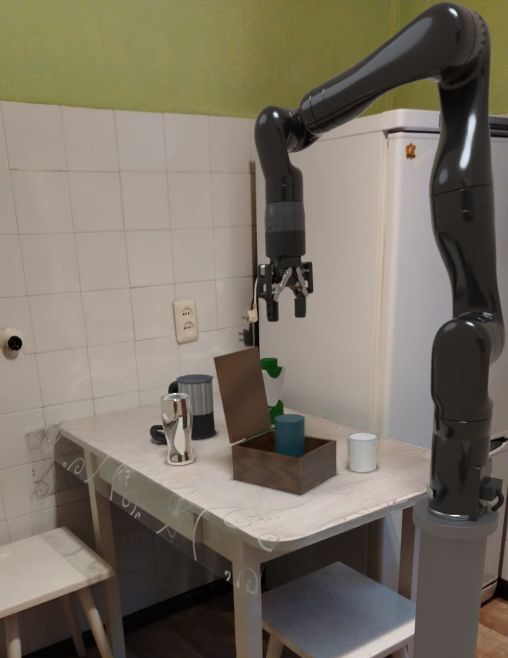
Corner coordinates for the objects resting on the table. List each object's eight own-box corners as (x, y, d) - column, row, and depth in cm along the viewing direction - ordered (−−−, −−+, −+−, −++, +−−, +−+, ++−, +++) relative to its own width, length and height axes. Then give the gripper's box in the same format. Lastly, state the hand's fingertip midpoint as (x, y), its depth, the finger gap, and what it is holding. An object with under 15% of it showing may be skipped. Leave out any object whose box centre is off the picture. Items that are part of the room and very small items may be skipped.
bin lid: (257, 346, 136) (254, 346, 136) (216, 357, 126) (213, 357, 126) (271, 427, 140) (269, 427, 141) (232, 443, 130) (229, 443, 131)
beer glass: (188, 467, 142) (183, 400, 136) (160, 464, 144) (153, 399, 139) (200, 456, 148) (195, 393, 142) (172, 455, 150) (167, 392, 145)
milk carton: (264, 447, 152) (261, 363, 145) (239, 439, 159) (236, 358, 152) (290, 439, 157) (289, 357, 150) (266, 432, 164) (263, 353, 157)
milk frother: (222, 431, 167) (219, 374, 162) (194, 449, 153) (189, 388, 148) (175, 427, 173) (170, 372, 167) (143, 444, 159) (137, 385, 154)
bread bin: (336, 474, 133) (336, 440, 130) (300, 495, 123) (299, 459, 121) (271, 460, 143) (270, 429, 140) (233, 479, 133) (231, 445, 131)
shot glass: (339, 466, 137) (339, 435, 135) (365, 460, 140) (366, 429, 138) (359, 475, 132) (360, 443, 129) (385, 469, 134) (386, 437, 132)
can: (310, 472, 132) (310, 416, 128) (294, 481, 128) (293, 423, 124) (286, 467, 136) (285, 412, 132) (270, 476, 132) (268, 419, 127)
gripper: (276, 228, 111) (279, 323, 116) (323, 228, 121) (324, 316, 126) (244, 231, 116) (248, 323, 121) (292, 231, 126) (293, 315, 131)
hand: (287, 319), depth 124 cm, fingers open, 8 cm apart
